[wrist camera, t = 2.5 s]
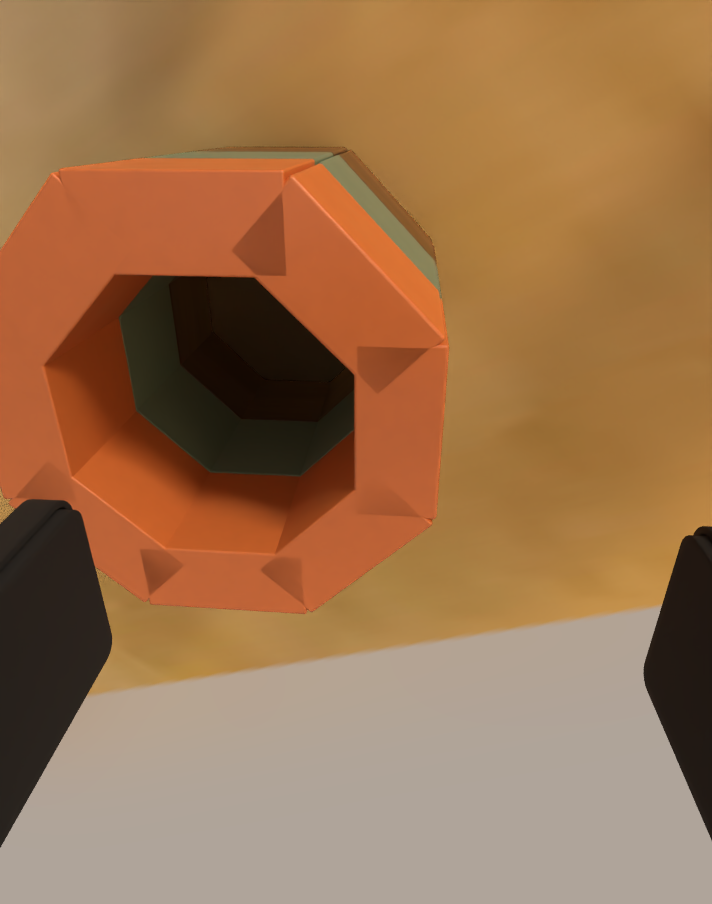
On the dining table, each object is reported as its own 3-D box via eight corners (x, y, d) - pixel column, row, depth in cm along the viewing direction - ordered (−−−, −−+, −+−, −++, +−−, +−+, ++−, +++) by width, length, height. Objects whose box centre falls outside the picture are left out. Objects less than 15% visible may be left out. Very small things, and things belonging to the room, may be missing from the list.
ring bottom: (138, 146, 22) (87, 151, 19) (439, 147, 22) (444, 151, 18) (180, 417, 28) (145, 460, 24) (423, 426, 27) (424, 472, 23)
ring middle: (87, 151, 19) (13, 157, 15) (444, 151, 18) (451, 159, 15) (145, 460, 24) (99, 517, 21) (424, 472, 23) (426, 534, 20)
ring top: (13, 157, 15) (-105, 167, 12) (451, 159, 15) (462, 171, 11) (100, 517, 21) (35, 598, 17) (426, 534, 20) (428, 622, 16)
